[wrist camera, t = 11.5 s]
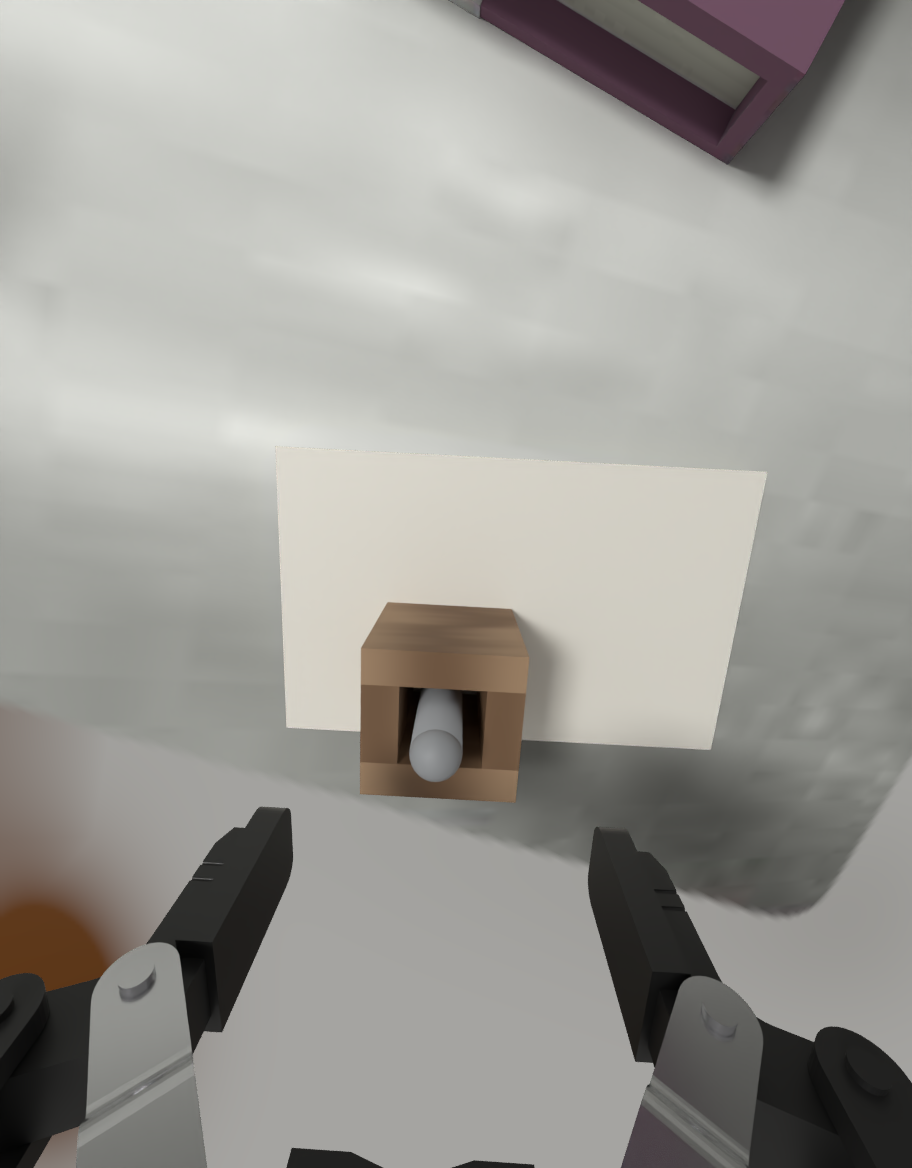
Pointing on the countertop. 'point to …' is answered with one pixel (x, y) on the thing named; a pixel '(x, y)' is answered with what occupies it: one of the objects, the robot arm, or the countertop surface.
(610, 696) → the board
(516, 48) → the countertop surface
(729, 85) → the book
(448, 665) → the brown wooden hollow cube
